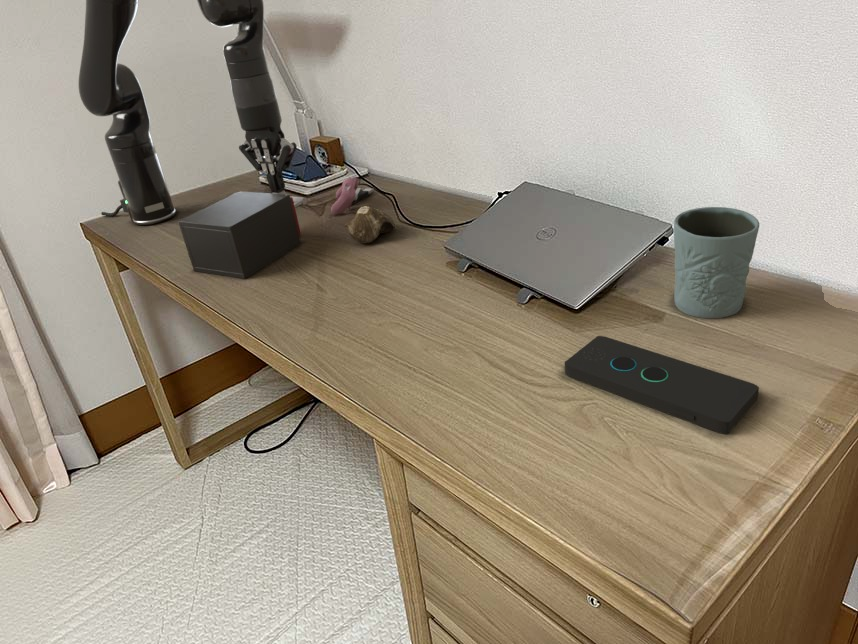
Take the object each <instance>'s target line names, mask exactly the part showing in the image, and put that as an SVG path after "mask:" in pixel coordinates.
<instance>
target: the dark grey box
mask: <svg viewBox="0 0 858 644" xmlns="http://www.w3.org/2000/svg"><path fill="white" fill-rule="evenodd" d="M290 197H291V195H290V194H287V195H285V194H273V193H272V192H271V193H270V192H269V193H268V192H257V191H255V192H254V191H243V190H242V191H241V190H238V191H236V192H234V193H233V194H231V195H229V196H226V197H224V198H223V199H220V200H218V201H217V202H215V203H212V204H211V205H209V206H206V207H204V208H202V209H200V210H198V211H196V212H195V213H192V214H190V215H188V216H186V217H184V218H182V219H180V220H178V221H177V223H178V226H179V229H180V232H181V235H182V238H183V242H184V245H185V248H186V251H187V254H188V258H189V260H190V263H191V266H192V269H193V271H194V272H197V273H204V274H210V275H215V276H216V275H218V276H224V277H229V278H236V279H243V280H246V279H247V278H249V277H250V276H252V275H254V274H255V273H256V272H259V271H260V270H261V269H263V268H264V267H266V266H268V265H269V264H271V263H273V262H274V261H275V260H277V259H279V258H280V257H282V256H283V255H285V254H287V253H288V252H290V251H292V250H293V249H294V248H296V247H298V246H299V245H301V244H302V242H301V237H299V232H298V228H297V224H296V220H295V215H294V211H293V207H292V203H291V199H290Z"/></svg>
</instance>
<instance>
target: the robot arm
mask: <svg viewBox="0 0 858 644" xmlns="http://www.w3.org/2000/svg"><path fill="white" fill-rule="evenodd" d="M139 2H140V0H85V15H84V30H83V31H84V34H83V35H84V36H83V46H82V53H81V58H80V59H81V61H80V67H79V74H78V93H79V98H80V100H81V102H82V104H83V107H85V109H86V110H87V111H88V112H89V113H90V114H92V115H93V116H96V117H109V116H112V122H111V125H110V126H109V129H108V130H107V131H106V132H105V134H104V141H105V144H106V147H107V150H108V152H109V155H110V158H111V161H112V163H113V166H114V169H115V172H116V175H117V178H118V181H117V184H118V187H119V189H120V192H121V195H122V199H119V202H120V205H118V206H117V207H116V208H115V211H113V212H107V211H102V212H101V216H106V217H114V216H116V215H118V214H119V213H120V210H123V213H128V215H129V218H130V220H131V222H132V223H133V224H134V225H137V226H149V225H155V224H159V223H162V222H165V221H167V220H170V219H171V218H173V217H175V216H176V214H177V211H176V208H175V207H174V203H173V200H172V197H171V193H170V190H169V187H168V184H167V181H166V178H165V174H164V171H163V169H162V166H161V163H160V160H159V156H158V152H157V150H156V146H155V144H154V141H153V138H152V135H151V118H150V115H149V111H148V107H147V103H146V100H145V96H144V93H143V90H142V85H141V84H140V81H139V79H138V78H137V75H136V74H135V73H134V71H132V70H131V68H129V66H127V65H125V64H122V63H118V59H119V53H120V50H121V48H122V45H123V43H124V42H125V41H124V40H126V37H127V35H128V33H129V31H130V29H131V28H132V25H133V23H134V20H135V18H136V16H137V13H138V9H139ZM196 2H197V5H198V7H199V10H200V12H201V14H202V16H203V18H204V19H205V20H206V21H208V22H209V23H210V24H211V25H213V26H215V27H218V28H226V27H231V26H236V25H238V27H237V35H236V36H235V37H234V38H232V39H231V40H229V41H228V42H226V43H224V45H223V47H222V52H223V58H224V61H225V65H226V68H227V73H228V77H229V81H230V88H231V94H232V98H233V102H234V105H235V109H236V113H237V117H238V121H239V124H240V125H239V126H240V128H241V129H242V130H243V131H245V133H244V138H245V141H244V142H243V143H242V144H239V146H238V149H239V151H240V152H241V153H242V155H243V156H244V157H245V159H246V160H247V161H248V162H249V163H250V164H251V165H252V167H253V168H254V169H255V170H256V171H257V172H260V171H261V172H263V174H264V175H265V176H266V181H267V184H268V188H269V190H270V192H271V194H273V193H280V192H282V191H285V188H286V184H285V179H284V176H283V171H285V170H287V169H289V168H290V165H291V163H292V160H293V158H294V155H295V152H296V150H297V143H296V142H294V141H293V142H290V141H288V140H287V139H286V137H285V134H284V132H283V130H282V128H281V124H282V115H281V110H280V106H279V103H278V98H277V94H276V89H275V85H274V81H273V79H272V76H271V75H270V69H269V66H268V61H267V58H266V57H267V56H266V53H265V48H264V47H265V46H264V35H265V34H264V27H265V26H264V25H265V23H264V21H265V18H264V17H265V11H264V10H265V6H264V0H196Z"/></svg>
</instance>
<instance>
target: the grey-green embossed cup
mask: <svg viewBox="0 0 858 644" xmlns="http://www.w3.org/2000/svg"><path fill="white" fill-rule="evenodd" d="M759 230H760V221H759V219H758V218H757V217H756V216H754V214H751V213H750V212H748V211H745V210H742V209H737V208H732V207H725V206H704V207H697V208H692V209H688V210H685V211H683V212H680V213H679V214H678V215H677V216H676V217H675V218H674V221H673V243H674V267H673V268H674V272H675V274H674V287H673V290H674V292H673V295H674V296H673V299H674V304H675V306H676V308H677V309H678V311H681V312H682V313H684V314H686V315H689V316H692V317H696V318H700V319H701V318H702V319H723V318H727V317H730V316H733V315H735V314H737V313H738V312H739V311H740V310H741V309H742V307H743V303H744V299H745V295H746V288H747V280H748V275H749V273H750V263H751V261H752V259H753V254H754V251H755V247H756V242H757V237H758V234H759Z"/></svg>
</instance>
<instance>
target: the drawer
mask: <svg viewBox="0 0 858 644" xmlns="http://www.w3.org/2000/svg"><path fill="white" fill-rule="evenodd" d="M290 199H291V203H292V207H293V211H294V215H295V220H296V224H297V228H298V232H299V237H300V238H301V237H302V231H301V228H300V224H299V220H298V215H297V211H296V208H297V207H299V206H300V205H301V206H302V205H303V206H305V205H307V202H308V200H307V198H306V197H302V196H290Z"/></svg>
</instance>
